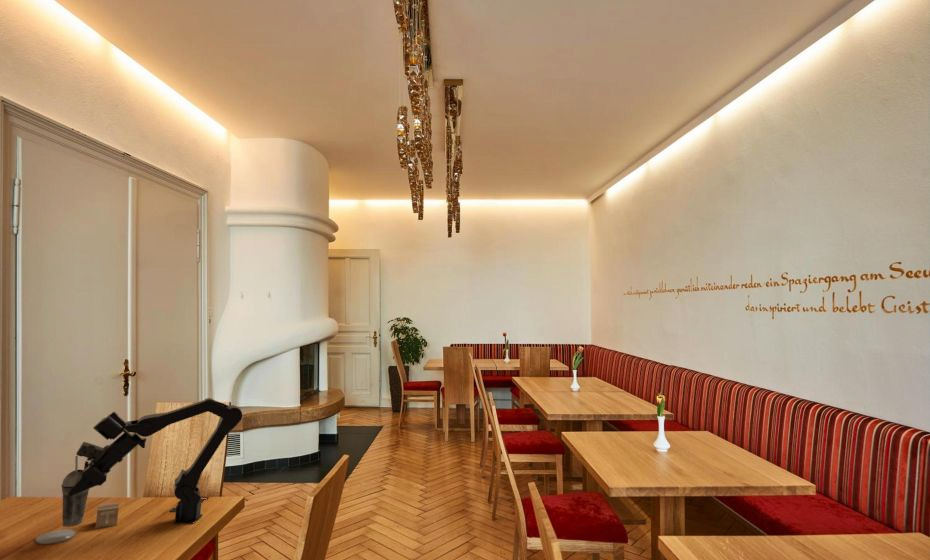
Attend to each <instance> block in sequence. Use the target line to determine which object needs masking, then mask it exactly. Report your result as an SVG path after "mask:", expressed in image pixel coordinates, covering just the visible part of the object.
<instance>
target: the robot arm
mask: <svg viewBox="0 0 930 560" xmlns="http://www.w3.org/2000/svg"><path fill="white" fill-rule="evenodd" d="M207 412H209V413H210V414H213V415H215V416H217V417H219V420H218V422H217V425H216V428H214V429H215V430H214V431H213V433H212V434H211V435H210V437H209V438H208V439H207V442H205V444H204V446H203V448H202V449H201V450H200V452H199V453H198V455H197V456H196V458H195V459H194V461H193V463H192V464H191V466H189V468H187V469H186V470H185V469H181V470H180V472H179V474H178V476H177V477H176V478H175V479H174V486H173V489H174V491H173V492H174V496H175V497H176V498H177V499H178V500H179V501H178V502H177V505H178V506H177V505H175V507H176V512H175V517H174V521H173V523H174V524H194V523H193V522H195V521H196V520H197V519H198V520H199V518H200V517H201V516H202V517H203V514H201V511H202V510H201V509H202V504H201V501H202V499H201V496H202V495H201V490H200V488H199V487H198V484H199V481H200V479H201V476H202V473H203V471H204V470H205V469H206V467H207V465H208V464H209V462H210V461H211V459H212V458H213V456H214V455H215V453H216V452H217V450H218V448H219V447H220V446H221V444H222V442H223V441H224V439H225V438H226V436H227V435H229V433H230V432H231V431H233V429H235V427H236V426H237V425H238V424H239V423H240V422H241V421H242V419H243V412H242V410H241V409H240V407H238V406H237V405H234V404H230V405H227V404H225V403H223V402H220V401H218V400H215V399H214V398H211V397H207V398H205V399H203V400H201V401H197V402H194V403H191V404H188V405H185V406H182V407H180V408H176V409H173V410H170V411H168V412H162V413H161V412H160V413H153V414H152V413H151V414H146V415H144V416H141V417H140V418H138V419H134V420H130V421H128V420H127V421H125V420H124V419H123V418H122V417H121V416H119V414H118V413H117V412H115V411H112V413H110V414H108V415H107V416H106V417H103V418H102V419H101V420H100V421H98V423H96V424H95V425H94V426H93V427H92V429H93V430H95V431H96V432H97V433H98V434H99V435H101V436H102V437H103V438H104V439H105V440H106V441H107V440H114V441H113V442H111V443H110V444H107V445H105V446H103V447H102V446H99V445H97V444H93V443H89V442H87V441H83V442H82V443H81V445H80V447H79V448H78V449H77V451H76V455H75V456H78V457H84V458H86V460H85V461H84V467H83V469H82V470H83V472H82V478H81V479H80V480H79V481H78V482H77V484H76V485H75V486H74V487H73V488H72V489H71V490H70V492H69V493H68V495H69V496H72V495H75V494H77V493H80V492H82V491H84V490H87V489H89V488H90V489H91V488H94V487H96V486H97V487H98V486H99V487H100V486H102V485H103V484H104V483H106V481H107V478H108V477H107V476H108V474H109V473H110V472H111V469H113V467H114V466H116V465H117V464H118V463H121V462H122V461H123V460H124V458H125V457H126V456H127V455H128V454H130V452H132V451H134V449H135V448H136V447H138V446H139V447H141V448H142V449H145V448H146V442H147V438H146V437H150V436H152V435H154V434H156V433H158V432H159V431H162V430H163V429H165V428H166V427H168V426H170V425H173V424H176V423H178V422H182V421H185V420H187V419H190V418H192V417H195V416H199V415H201V414H205V413H207ZM143 437H144V438H143ZM90 489H89V490H90ZM202 517H201V518H202ZM201 518H200V519H201ZM198 520H197V521H198ZM197 521H196V522H197ZM196 522H195V523H196Z"/></svg>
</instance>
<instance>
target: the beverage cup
mask: <svg viewBox="0 0 930 560" xmlns="http://www.w3.org/2000/svg"><path fill="white" fill-rule="evenodd" d="M78 457H79V456H78V455H75V458H74V459H75V460H74V463H75V464H74V466H75V467H74V470H73V471H70V472H69V473H68V474H66V476H65V477H64V478H63V481H62V483H61V493H62V526H63V527H64V528H70V527H75V526H78V525H79V526H80V524H82V523H83V519H84V516H85V515H84V514H85V512H86V511H85V510H86V505H87V500H88V496H89V491H90V489H91V488H89V489H87V490H84V491H82V492H80V493H77V494H75V495H72V496H69V495H68V493H69V492H70V490H71V489H72V488H73V487H74V486H75V485H76V484H77V482H78V481H79V480H80V479H81V478H82V472H83V470H84V469H78Z"/></svg>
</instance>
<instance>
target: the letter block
mask: <svg viewBox="0 0 930 560" xmlns="http://www.w3.org/2000/svg"><path fill="white" fill-rule="evenodd" d="M119 505H120V502H117V501H116V502H109V503H102V504H98V505H97V510H96V511H97V512H96V521H95V528H96V529H101V528H100V527H102V528H108V527H113V526H114V525H115V526H117V525H118V516H119V510H120V509H119ZM107 526H108V527H107ZM115 526H114V527H115Z"/></svg>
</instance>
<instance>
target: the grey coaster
mask: <svg viewBox="0 0 930 560" xmlns="http://www.w3.org/2000/svg"><path fill="white" fill-rule="evenodd" d="M75 535H76V531H75V530H74V529H70V528H69V529H66V528H65V529H64V528H63V529H57V530H56V529H55V530H52V531H48V532H45V533H42V534H40V535H38V536H37V537H36V538H35V543H36V544H37V545H53V544H52V543H54V544H59V543H62V542H66V541H69V540H70V539H72V538H73V537H74V536H75Z"/></svg>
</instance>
